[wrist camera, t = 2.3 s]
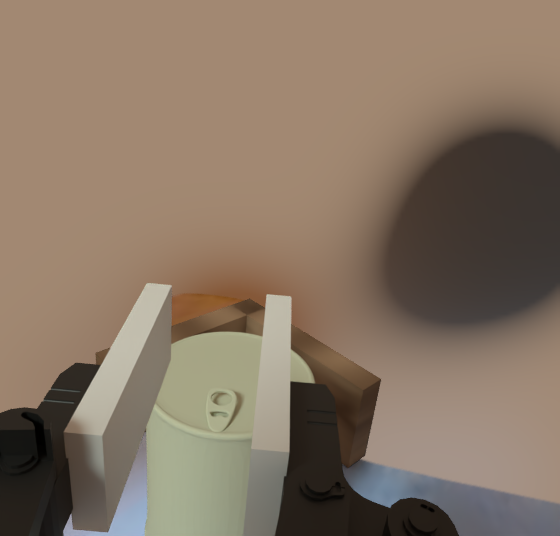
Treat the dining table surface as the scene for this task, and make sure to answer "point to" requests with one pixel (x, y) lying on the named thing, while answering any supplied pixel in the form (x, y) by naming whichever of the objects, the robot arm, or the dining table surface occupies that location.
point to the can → (205, 435)
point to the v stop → (321, 360)
